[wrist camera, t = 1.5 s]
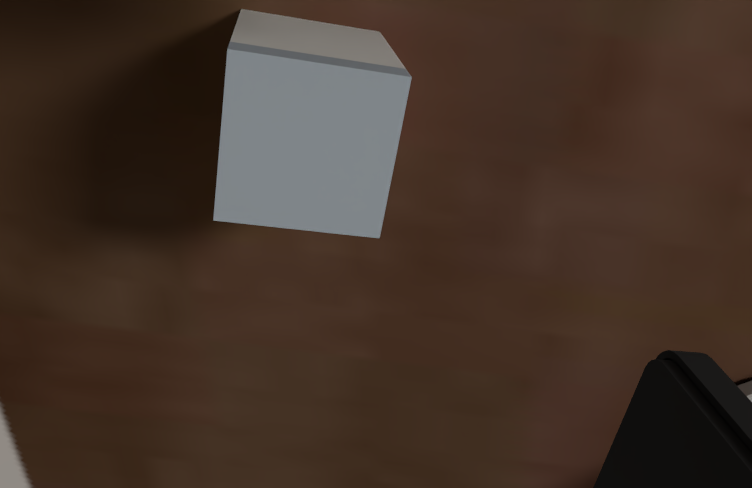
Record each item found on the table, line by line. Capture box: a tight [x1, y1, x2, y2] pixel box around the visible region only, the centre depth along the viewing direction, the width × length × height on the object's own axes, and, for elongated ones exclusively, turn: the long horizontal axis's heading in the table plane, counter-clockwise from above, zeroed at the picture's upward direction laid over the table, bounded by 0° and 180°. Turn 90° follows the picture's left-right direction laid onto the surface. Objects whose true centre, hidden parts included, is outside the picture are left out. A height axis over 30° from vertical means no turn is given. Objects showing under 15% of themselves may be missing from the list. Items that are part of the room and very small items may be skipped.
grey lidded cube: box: [213, 9, 412, 238], centre depth 23 cm, size 5×5×7 cm
